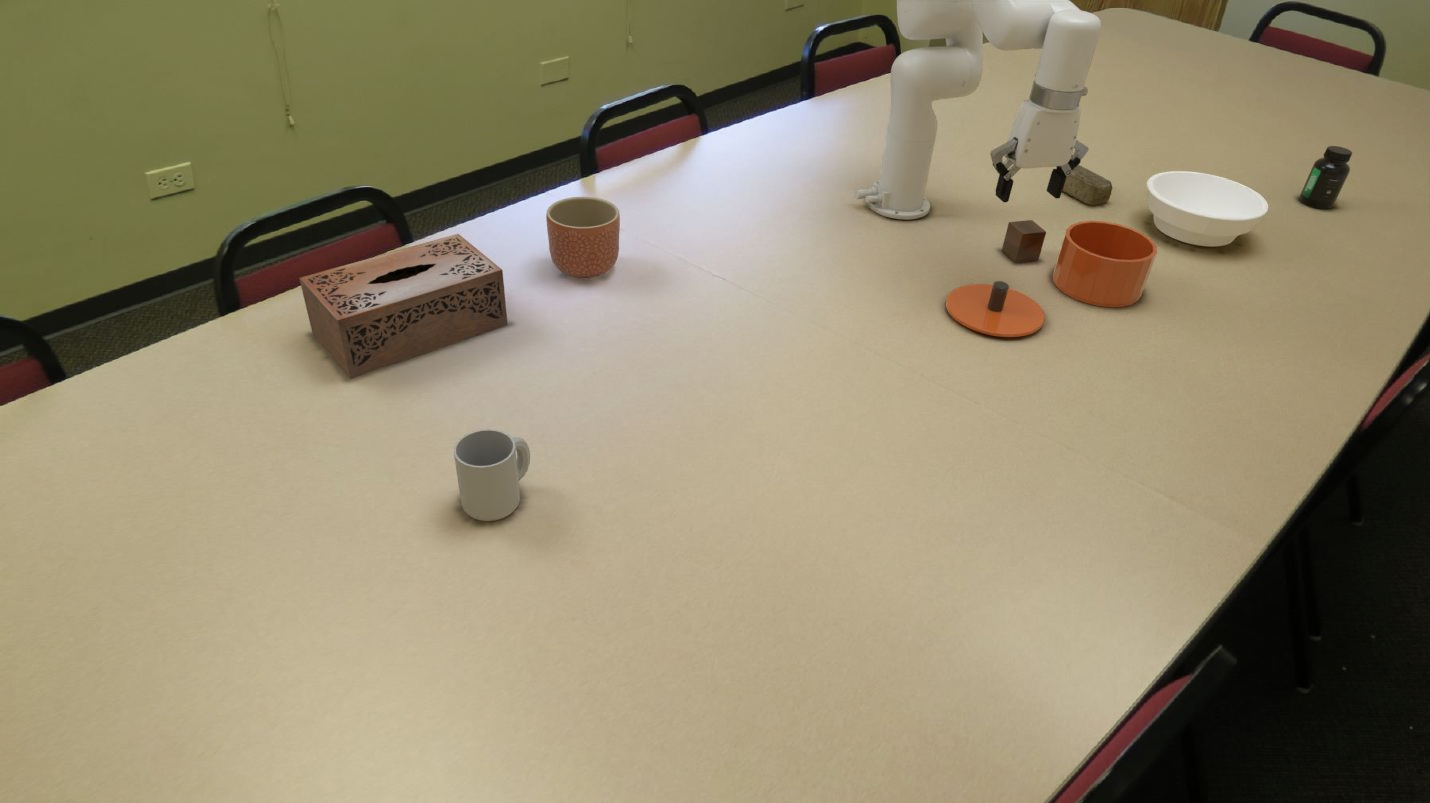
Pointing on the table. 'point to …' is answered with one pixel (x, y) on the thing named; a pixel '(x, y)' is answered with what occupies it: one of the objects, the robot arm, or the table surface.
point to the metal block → (1023, 241)
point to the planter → (583, 235)
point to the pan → (1104, 263)
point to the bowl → (1203, 207)
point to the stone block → (1087, 186)
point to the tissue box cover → (404, 303)
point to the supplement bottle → (1326, 178)
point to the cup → (490, 472)
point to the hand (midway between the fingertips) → (1027, 197)
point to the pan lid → (995, 310)
